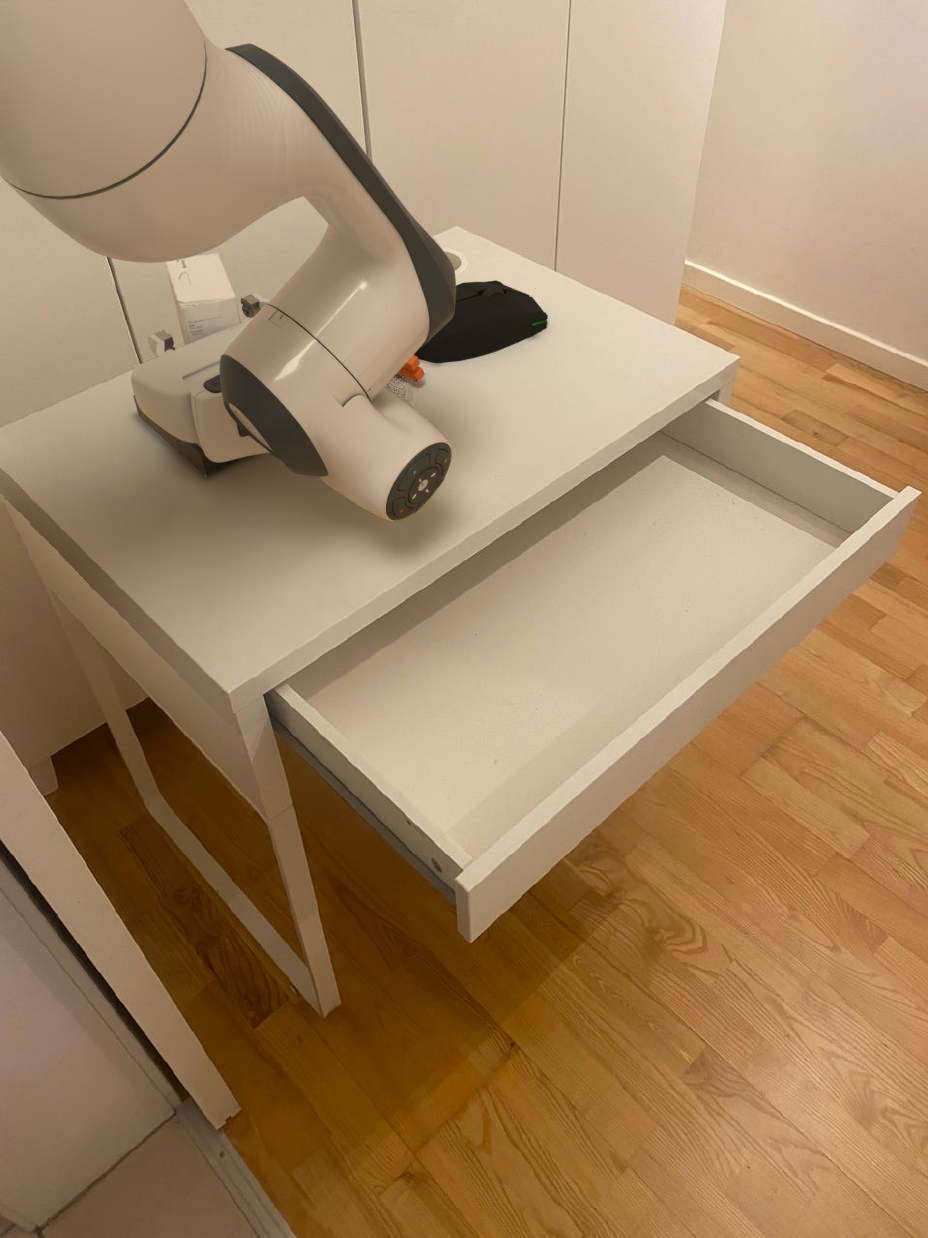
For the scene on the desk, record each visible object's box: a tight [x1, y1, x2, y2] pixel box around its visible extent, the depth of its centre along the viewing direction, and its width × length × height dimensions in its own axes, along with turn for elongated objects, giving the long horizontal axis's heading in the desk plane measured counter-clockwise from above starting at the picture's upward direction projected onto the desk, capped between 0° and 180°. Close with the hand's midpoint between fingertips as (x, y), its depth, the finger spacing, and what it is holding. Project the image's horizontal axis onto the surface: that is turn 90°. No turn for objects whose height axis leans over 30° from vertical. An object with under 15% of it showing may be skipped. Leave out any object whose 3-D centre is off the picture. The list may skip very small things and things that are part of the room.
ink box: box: [165, 252, 242, 346], centre depth 86 cm, size 9×5×12 cm, turn 20°
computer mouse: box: [414, 279, 549, 364], centre depth 103 cm, size 11×16×4 cm
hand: (203, 320), depth 85 cm, fingers open, 8 cm apart
